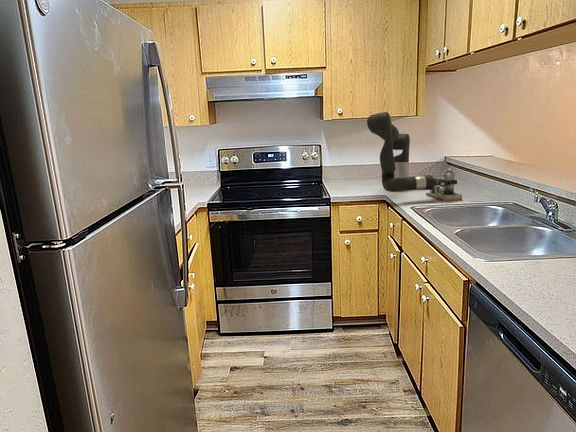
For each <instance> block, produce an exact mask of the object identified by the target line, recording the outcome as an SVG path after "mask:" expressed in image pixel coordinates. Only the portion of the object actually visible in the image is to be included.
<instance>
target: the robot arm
mask: <svg viewBox="0 0 576 432" xmlns="http://www.w3.org/2000/svg"><path fill="white" fill-rule="evenodd" d="M392 123H393V122H392V118H391V115H390V114H389V112H388V111H383V112H378V113H374V114H371V115H369V116H368V118H367V119H366V124H367V125H366V126H367V128H368V130H369V131H370V132H371V133H372V134H373V135H377V136H378V137H379V138H380V139H382V140H383V142H384V143H383V145H382V147H381V150H380V152H379V163H380V164H379V165H380V169H381V185H382V188H383V189H384V190H385V191H387V192H392V193H397V192H399V193H400V192H401V193H403V192H409V191H430V190H432V189H433V187H434V186H441V187H442V186H450V185H451V184H454V185H457V184H458V180H457V179H455V180H445V179H444V177H433V175H431V174H426V175H415V176H409V175H410V174H409V173H410V171H409V169H410V167H409V166H410V165H409V164H410V162H409V161H410V142H411V139H410V135H409V133H400V131H399V129H398V128H397V127H396V126H395V125H394V124H392ZM394 150H395V151H401V153H400V154H397V155H394ZM447 182H448V184H447Z"/></svg>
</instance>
